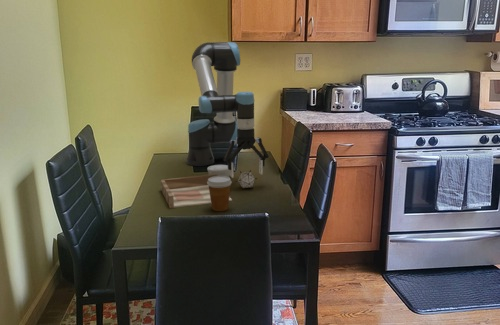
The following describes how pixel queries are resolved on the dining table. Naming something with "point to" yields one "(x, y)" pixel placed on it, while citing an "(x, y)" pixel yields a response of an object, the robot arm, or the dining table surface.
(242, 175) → the game die
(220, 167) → the ramekin
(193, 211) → the dining table surface
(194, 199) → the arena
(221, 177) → the disposable coffee cup
